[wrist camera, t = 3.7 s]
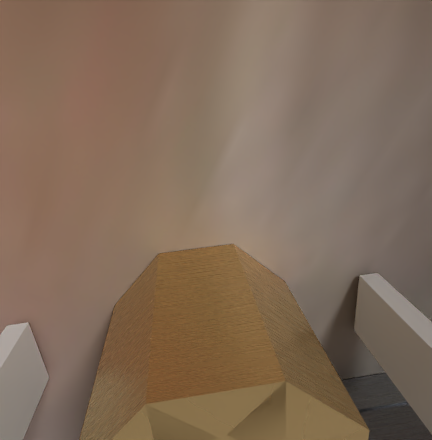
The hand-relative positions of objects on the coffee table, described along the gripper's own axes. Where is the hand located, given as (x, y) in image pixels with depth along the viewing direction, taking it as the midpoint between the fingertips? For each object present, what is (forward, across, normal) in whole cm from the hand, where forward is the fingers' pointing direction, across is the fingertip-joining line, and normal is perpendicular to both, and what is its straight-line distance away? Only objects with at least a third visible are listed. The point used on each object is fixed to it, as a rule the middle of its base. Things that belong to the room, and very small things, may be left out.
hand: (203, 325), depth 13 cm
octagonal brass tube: (0, 0, 0) cm, 0 cm away
